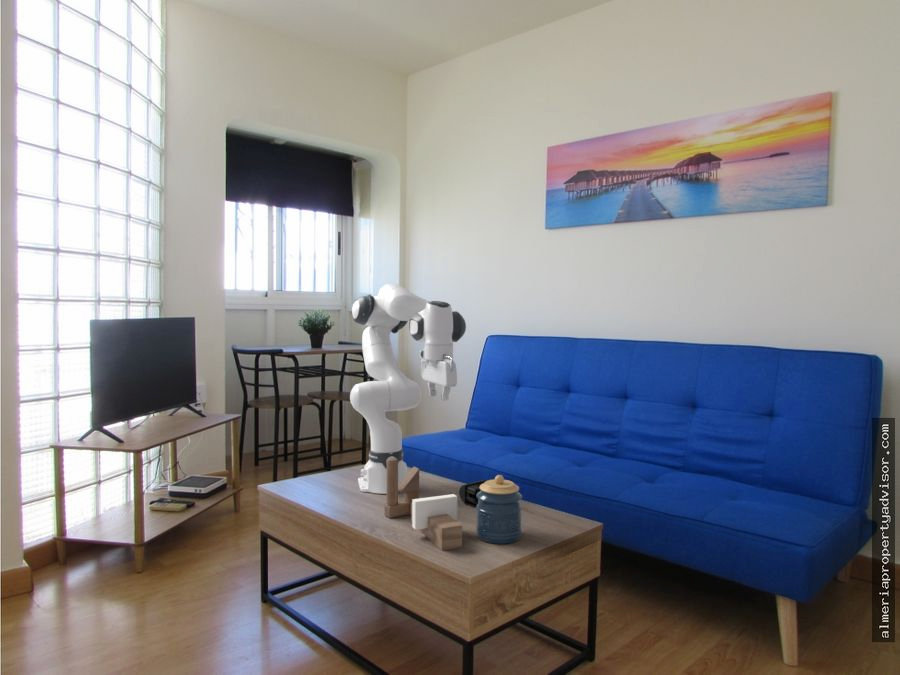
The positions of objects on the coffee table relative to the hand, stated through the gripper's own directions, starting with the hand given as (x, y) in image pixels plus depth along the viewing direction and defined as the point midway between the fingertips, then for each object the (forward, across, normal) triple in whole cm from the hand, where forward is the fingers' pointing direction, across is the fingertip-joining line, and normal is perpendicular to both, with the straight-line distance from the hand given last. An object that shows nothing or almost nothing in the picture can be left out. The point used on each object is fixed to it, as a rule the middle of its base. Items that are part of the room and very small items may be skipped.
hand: (438, 398), depth 193 cm
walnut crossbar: (+37, -14, +7) cm, 40 cm away
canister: (+37, -23, -9) cm, 45 cm away
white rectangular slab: (+35, -14, +7) cm, 38 cm away
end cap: (+37, +7, -17) cm, 42 cm away
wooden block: (+37, +6, +10) cm, 39 cm away
